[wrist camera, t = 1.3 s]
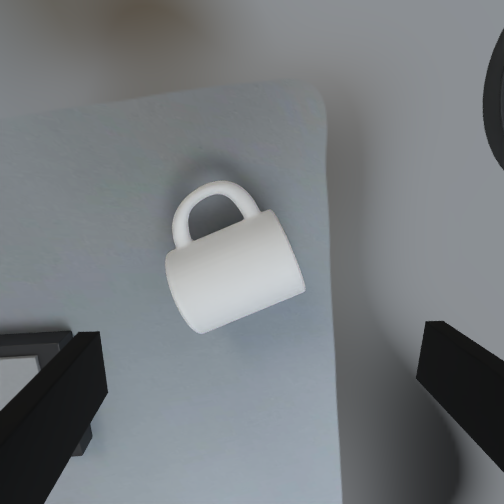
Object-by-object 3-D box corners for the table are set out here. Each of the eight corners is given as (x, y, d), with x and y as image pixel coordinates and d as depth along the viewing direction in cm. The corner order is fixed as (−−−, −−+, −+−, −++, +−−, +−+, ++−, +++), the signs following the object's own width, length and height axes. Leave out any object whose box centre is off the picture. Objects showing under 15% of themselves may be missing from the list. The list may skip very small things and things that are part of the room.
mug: (293, 274, 30) (315, 306, 23) (208, 309, 31) (200, 353, 23) (251, 165, 27) (258, 160, 20) (156, 206, 28) (127, 216, 20)
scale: (71, 330, 30) (55, 345, 28) (92, 437, 34) (80, 459, 31) (-69, 338, 29) (-100, 354, 27) (-33, 446, 33) (-57, 470, 30)
